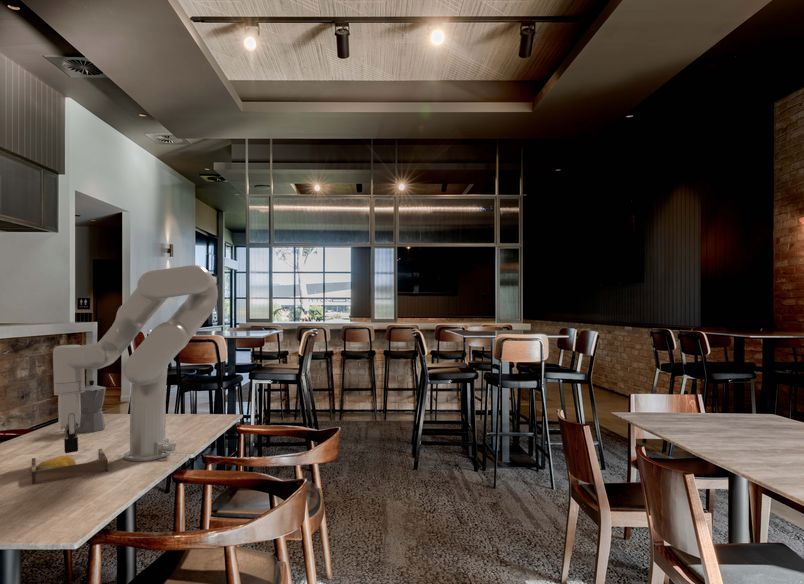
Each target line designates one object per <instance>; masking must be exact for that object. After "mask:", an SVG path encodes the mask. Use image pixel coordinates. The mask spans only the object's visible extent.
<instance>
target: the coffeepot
mask: <svg viewBox="0 0 804 584" xmlns="http://www.w3.org/2000/svg"><path fill="white" fill-rule="evenodd" d="M88 383H89V385H88V384H85V392H82V393H80V401H81V416H80V427H78V428H77V433H80V434H87V433H88V434H89V433H95V432H101V431H104V430H105V429H106V424H105V417H104V412H103V406H104V402H105V397H106V396H105V395H106V390H107V386H106V387H105V386H100V385H95V380H92V379H91V380H89V381H88Z"/></svg>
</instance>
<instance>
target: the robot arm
mask: <svg viewBox="0 0 804 584" xmlns="http://www.w3.org/2000/svg"><path fill="white" fill-rule="evenodd" d="M136 285H137V287H136V288H135V290H133V291H132V293H131V294H130V295H129V296H128V297H127V299H126V300H125V301H124V302H123V303H122V305H120V306H119V307H118V309H117V312H116V316H115V320H114V322H113V323H112V326H110V328H109V329H108V330H107V332H106V333H105V334H104V335H103V336H102V338H101V339H100V340H99V341H98V342H95V343H90V344H84V345H80V344H64V345H58V346H55V348H53V350H52V351H53V352H52V363H53V365H52V367H53V369H52V370H53V395H54V396H58V400H57V401H58V402H57V406H58V408H57V411H58V412H57V414H58V416H57V417H58V429H59V430H60V431H63V430H64V440H63V441H64V442H63V443H64V445H63V446H64V454H70V453H71V454H72V453H77V452H78V451H79V437H78V432H77V428H78V427H80V416H81V401H80V393H82V392H85V385H86V383H85V382H86V380H85V378H86V377H85V374H86V373H85V370H100V369H103V368H105V367H108V366H110V365H112V364H114V363H115V362H116V361H117V360H118V359H119V358H120V356H121V355H122V354H123V353H124V352H125V351H126V349H128V347H129V346H130V345H131V343H132V342H133V341H134V339H135V338H136V337H137V336H138V334H139V333H140V332H141V331H142V329H143V328H144V327H145V325H146V324H147V323H148V322H149V320H151V318H152V317H153V315H154V314H156V312H157V311H158V310H159V309H160V308H161V307H162V305H163V304H164V303H165V302H166V301H167V299H168V298H175V297H176V298H177V297H182V296H188V297H187V298H186V299H185V300H184V302H183V303H182V304H181V305H180V306H179V307H178V308H177V310H176V311H175V312H174V313H173V314H172V316H171V317H169V319H168V320H167V321H164V322H162V323H160V324H158V325H156V326H155V327H154V328H153V329H152V330H151V331H150V332H149V334H148V335H147V336H146V337H145V338H144V339H143V340H142V342H141V343H140V344H139V345H138V346H137V348H135V350H134V351H133V352H132V353H131V355H129V356H128V358H127V359H126V361H125V363H124V365H123V366H124V367H123V372H124V376H125V378H126V379H127V381H128V382H130V383H131V387H130V402H129V403H130V406H129V407H130V408H129V409H130V410H129V413H130V414H129V450H127V451H126V452H124V453H123V459H124V460H125V461H128V462H129V461H130V462H144V461H153V460H158V459H162V458H165V457H167V456H169V455H170V454H171V452H172V453H173V452H175V451H176V447H177V443H175V442H172V443H170V442H169V440H170V438H166V415H167V414H166V408H167V407H166V406H167V405H166V401H167V378H168V366H169V364H170V363H171V362H172V361H173V360H174V358H176V356H177V355H178V354H179V353H180V352H181V351H182V350H184V349H185V348H186V347H187V346H188V344H189V341H190V340H191V339H193V338H192V337H194V335H195V334H196V333H198V330H200V328H201V327H202V326H203V324H204V323H205V322H206V321H207V320H208V318H209V317H210V315H212V312H214V310H215V307H216V305H217V302H218V296H219V291H218V286H217V283H216V280H215V278H214V276H213V275H212V273H211V272H210V271H209V270H208V269H207V268H205V267H204V266H201V265H196V264H192V265H182V266H177V267H169V268H163V269H161V268H160V269H153V270H149V271H146V272H145V273H143V274H142V275H141V276H140V277H139V278H138V280H137V284H136Z"/></svg>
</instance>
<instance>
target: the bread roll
mask: <svg viewBox="0 0 804 584" xmlns="http://www.w3.org/2000/svg"><path fill="white" fill-rule="evenodd" d="M76 464H77V462H76V460H75V459H74V458H73V457H71V456H67V455H61V456H57V457H54V458H51V459H48V460H44V461H42V462H39V464H38V465H37V466H36V471H37V470H44V469H50V468H57V467H63V466H70V465H76Z"/></svg>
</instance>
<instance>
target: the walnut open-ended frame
mask: <svg viewBox="0 0 804 584" xmlns="http://www.w3.org/2000/svg"><path fill="white" fill-rule="evenodd" d="M97 456H98V459H97V461H90V462H83V463H78V464H77V463H76V465H70V466H63V467H57V468H50V469H44V470H37V471H36V468H37V466H36V457H34V458H33V457H32V458H31V485H35V484H42V483H46V482H53V481H59V480H66V479H72V478H77V477H78V478H79V477H83V476H89V475H95V474H100V473H101V474H102V473H108V470H109V460H108V458H107V456H106V454H105V452H104V450H103V448H98V454H97Z"/></svg>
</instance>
